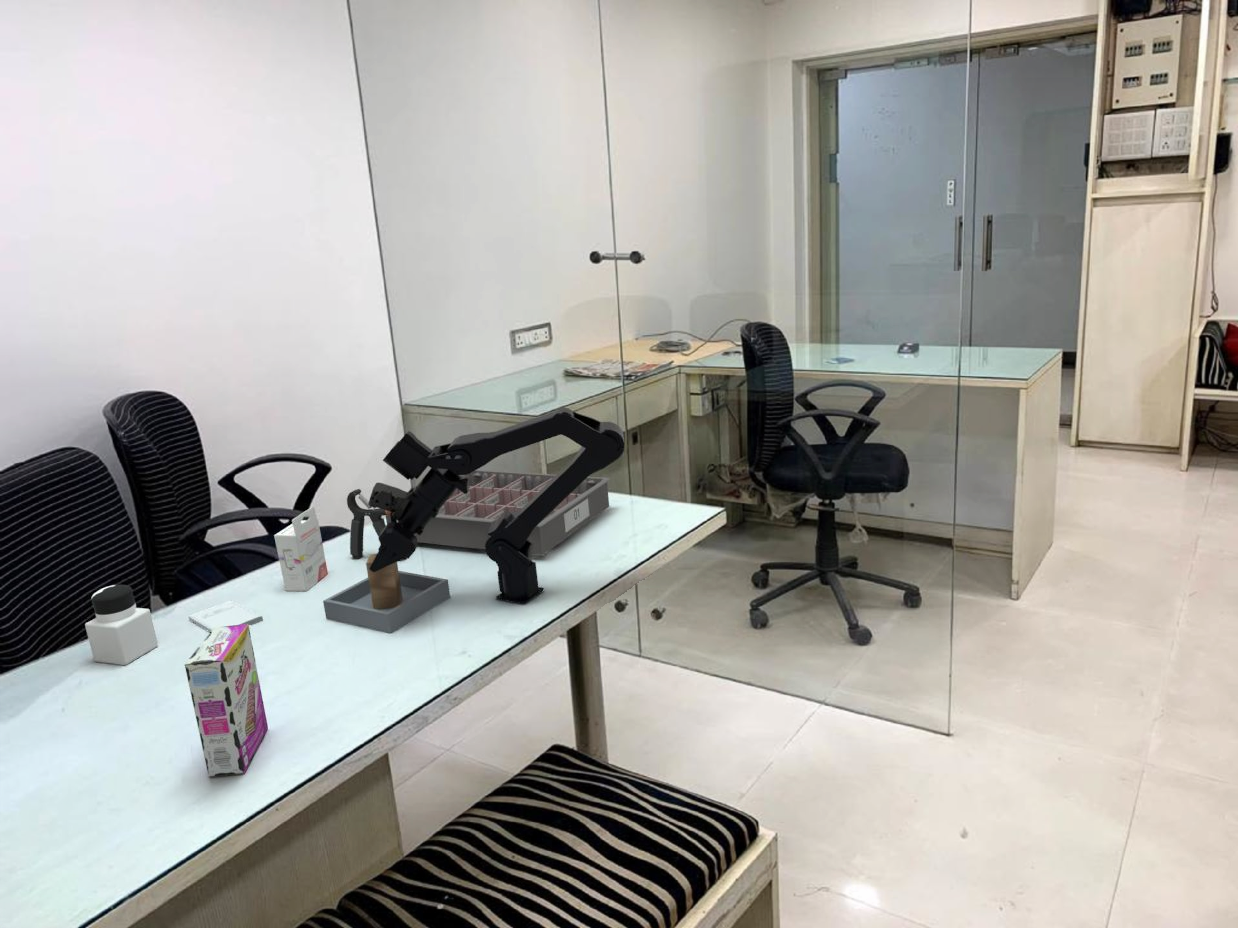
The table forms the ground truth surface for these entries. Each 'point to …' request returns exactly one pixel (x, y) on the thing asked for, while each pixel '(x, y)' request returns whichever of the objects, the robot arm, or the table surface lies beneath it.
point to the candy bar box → (227, 699)
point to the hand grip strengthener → (362, 522)
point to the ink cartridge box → (301, 552)
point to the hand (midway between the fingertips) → (376, 560)
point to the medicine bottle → (119, 627)
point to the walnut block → (384, 585)
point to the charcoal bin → (359, 609)
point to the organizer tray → (511, 509)
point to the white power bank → (225, 616)
